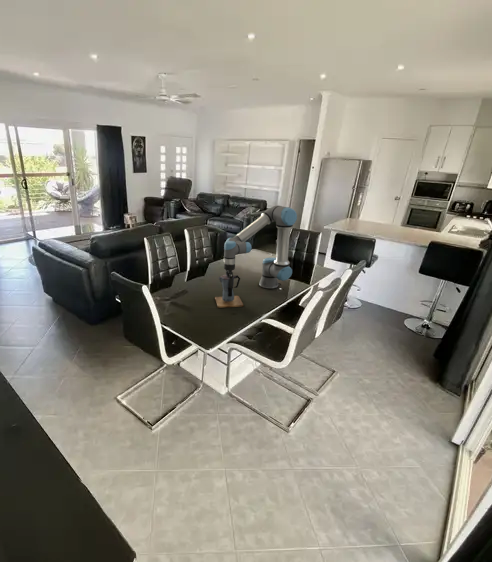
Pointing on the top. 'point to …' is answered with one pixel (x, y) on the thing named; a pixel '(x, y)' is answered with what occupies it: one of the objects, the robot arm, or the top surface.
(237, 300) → the cork board
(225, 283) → the moka pot
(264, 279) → the robot arm
